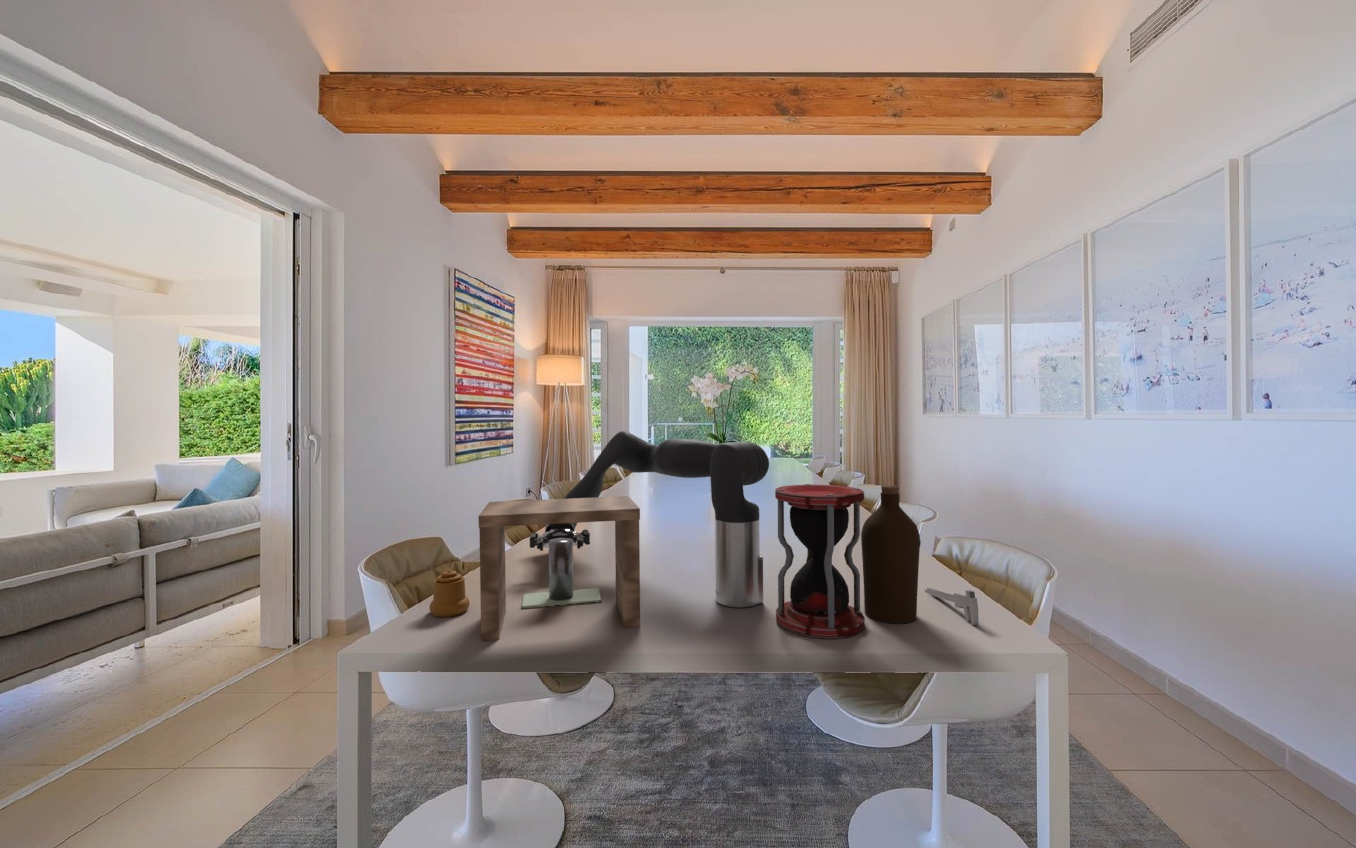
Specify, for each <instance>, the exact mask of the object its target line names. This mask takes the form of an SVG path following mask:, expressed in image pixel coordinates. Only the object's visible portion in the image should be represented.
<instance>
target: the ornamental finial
mask: <svg viewBox="0 0 1356 848" xmlns="http://www.w3.org/2000/svg"><path fill="white" fill-rule="evenodd" d="M432 597H433V598H432V601H431V602H430V604H429V607H428V608H429V612H430V614H431V615H432V616H435V618H436V617H437V618H449V617H450V618H451V617H456V616H459V615H461V614H464V613H465V612H467V610H469V608H470V603H471V602H470V599H469V597H467V595H466V582H465V576H462V574H461V573H458V572H457V571H456V570H445V571H443V572H442V573H441V574H440V575H438V576H437V577H436V579H434V581H433V596H432Z"/></svg>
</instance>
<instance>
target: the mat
mask: <svg viewBox="0 0 1356 848" xmlns="http://www.w3.org/2000/svg"><path fill="white" fill-rule="evenodd" d="M599 590H600V589H599V588H598V587H597V588H583V589H573V597H572V598H570V599H568V600H561V601H556V600H551V599H550V598H549V591H542V592H530V593H523V597H522V604H521V609H522V608H523V609H533V608H545V606H548V607H556V606H555V605H560V606H568V605H567V604H572V605H577V604H576V603H585V604H587V603H586V602H596V601H601V602H602V598H601V597H602V596H601V594H600V591H599Z"/></svg>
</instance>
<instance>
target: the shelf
mask: <svg viewBox="0 0 1356 848" xmlns="http://www.w3.org/2000/svg"><path fill="white" fill-rule="evenodd" d="M640 510H641V508H640V507H639V506H638V505H637V504H636V503H635V501H634V500H632V498H631V497H630V496H629V495H627V496H623V495H622V496H603V497H602V496H601V497H600V496H599V497H597V498H572V499H564V498H552V499H550V498H549V499H548V498H547V499H529V500H527V499H526V500H524V499H523V500H506V501H505V500H499V501H488V503H487V504H486V505H485V507H484V508H483V509H482V510H481V512H480V513H479V515H478V528H479V580H480V582H479V587H480V593H479V594H480V641H481V642H482V641H493V640H500V638H501V637H500V636H501V634H500V633H502V629H503V625H504V622H505V618H506V613H507V596H506V595H507V593H506V591H507V590H506V586H507V585H506V581H507V579H506V577H507V576H506V527H515V526H516V527H517V526H519V527H520V526H537V525H543V524H560V523H577V524H578V523H580V524H581V523H598V522H601V523H602V522H614V534H615V535H614V537H615V538H614V543H615V544H614V545H615V546H614V547H615V548H614V549H615V604H616V603H617V604H616V606H618V607H617V610H618V613H619V615H621V617H620V619H622V620H621V623H622V622H623V623H622V625H624V626H623V628H624V627H625V628H632V627H634V628H636V627H641V577H640V576H641V573H640V571H641V568H640V567H641V566H640V565H641V564H640V561H641V558H640V557H641V556H640V553H641V551H640V520H641V511H640ZM504 617H505V618H504Z"/></svg>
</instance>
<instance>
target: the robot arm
mask: <svg viewBox="0 0 1356 848" xmlns="http://www.w3.org/2000/svg"><path fill="white" fill-rule="evenodd" d="M613 465H616V466H618V467H621V468H622V469H625V470H626V471H629V472H630V473H631V472H633V473H639V474H640V473H657V474H661V475H665V476H670V477H675V478H682V479H684V478H685V479H687V478H688V479H697V478H708V477H709V478H710V492H711V494H710V495H711V497H710V498H711V503H712V508H713V509H714V519H715V520H714V525H715V527H714V530H715V531H714V533H715V535H714V537H715V540H714V542H715V544H714V545H715V552H714V553H715V555H714V557H715V560H714V561H715V591H714V593H715V601H716V603H718V604H719V605H722V606H725V607H729V608H747V607H753V606H756V605H759V604H763V603H764V557H763V556H762V555H761V553H760V551H761V550H760V549H761V548H760V507H759V505H758V504H756V503H755V502H752V501H751V502H750V501H748V500H747V499H746V497H745V493H744V486H750V485H751V486H752V485H754V484H757V483H759V482H760V481H762V480H763V479H764V478H765V476H767V473H768V471H769V468H770V461H769V457H768V455H767V453H766V451H765V450H764V449H763V448H762V447H761V446H760V445H759V444H757V443H754V442H752V441H734V442H723V443H714V442H710V441H709V442H708V441H703V440H698V439H689V438H676V437H675V438H674V437H673V438H667V439H665V440H663V441H662V442H660V443H659V444H653V443H650V442H648V441H646V440H644V439H642V438H640V437H638V436H636V435H635V434H633V433H631V432H630V431H629V432H628V431H626V430H622V431H618V432H617V433H615V435H613V436H612V437H611V439H610V440H609V441H608V443H607V444H606V445H605V447H604V448H603V449H602V450H601V452H600V453H599V455H598V456H597V458H596V459H595V461H594V462H593V463H592V465H591V466H590V468H589V469H588V471H587V472H586V473H585V475H584V476H583V477H582V478H581V479H580V481H578V483H577V484H575V486H574V487H573V488H572V489H571V490H570V491H568V493H567V494H566V495H565V496H564V498H563V499H572V498H597V497H600V495H601V494H602V490H603V485H604V478H605V474H606V472H607V471H608V470H609V468H610V467H612V466H613ZM542 525H543V526H544V527H545V528H544V532H542V534H539V533H537V531H536V532H535V531H534V532H533V531H532V532H531V533H530V535H529V548H531V549H534V548H536V549H537V550H539V551H541V552H542V551H544V548H548V549H549V540H551V539H556V538H570V539H572V540H573V547H575V546H576V547H577V548H576V549H577V550H578V549H581V548H582V547H584V544H585V545H587V546H588V545H590V544H591V537H590V536H591V534H590V532H589V530H588V529H586V528H585V529H582V531H581V532H577V531H576V530H575V529H576V527H577V525H578V523H560V524H542Z"/></svg>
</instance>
